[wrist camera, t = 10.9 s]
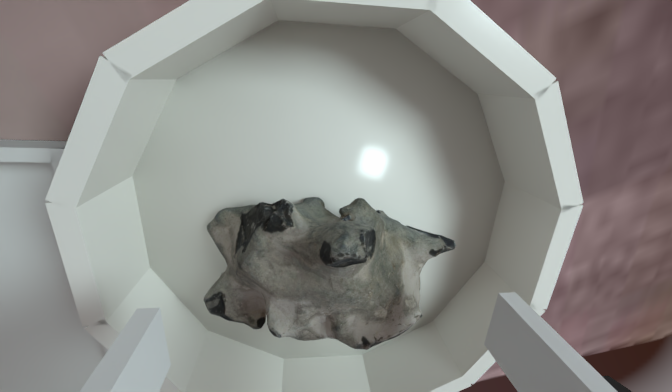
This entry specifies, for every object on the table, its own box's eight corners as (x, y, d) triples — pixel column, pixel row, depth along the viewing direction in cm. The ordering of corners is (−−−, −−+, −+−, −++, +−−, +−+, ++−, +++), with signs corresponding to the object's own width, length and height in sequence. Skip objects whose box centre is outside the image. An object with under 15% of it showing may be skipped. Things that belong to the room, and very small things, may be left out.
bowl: (160, 365, 25) (119, 448, 19) (81, -17, 16) (-38, -69, 10) (467, 349, 28) (508, 417, 22) (551, 20, 19) (657, -5, 13)
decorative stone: (232, 334, 22) (170, 471, 12) (192, 214, 21) (89, 261, 11) (440, 273, 23) (538, 357, 13) (414, 155, 22) (499, 150, 12)
